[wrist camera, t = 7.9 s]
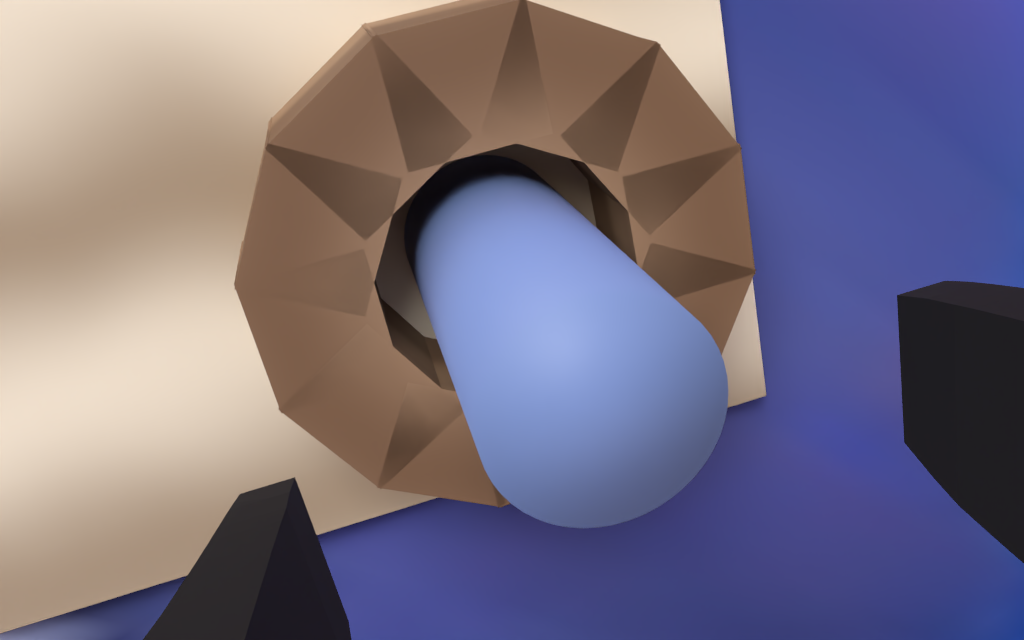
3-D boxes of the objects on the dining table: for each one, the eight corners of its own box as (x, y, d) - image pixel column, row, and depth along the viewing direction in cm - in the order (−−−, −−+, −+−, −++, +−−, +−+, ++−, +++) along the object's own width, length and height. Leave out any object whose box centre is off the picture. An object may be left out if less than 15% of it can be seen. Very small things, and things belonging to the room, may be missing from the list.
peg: (575, 283, 19) (744, 483, 12) (428, 329, 19) (509, 561, 12) (543, 135, 18) (707, 257, 11) (384, 181, 18) (444, 337, 10)
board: (754, 384, 22) (765, 395, 21) (-21, 624, 20) (-30, 642, 19) (669, -304, 16) (682, -312, 16) (-425, -66, 14) (-453, -67, 14)
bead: (721, 371, 21) (773, 422, 19) (329, 490, 20) (333, 560, 18) (662, -52, 17) (718, -53, 15) (179, 69, 16) (160, 88, 14)
